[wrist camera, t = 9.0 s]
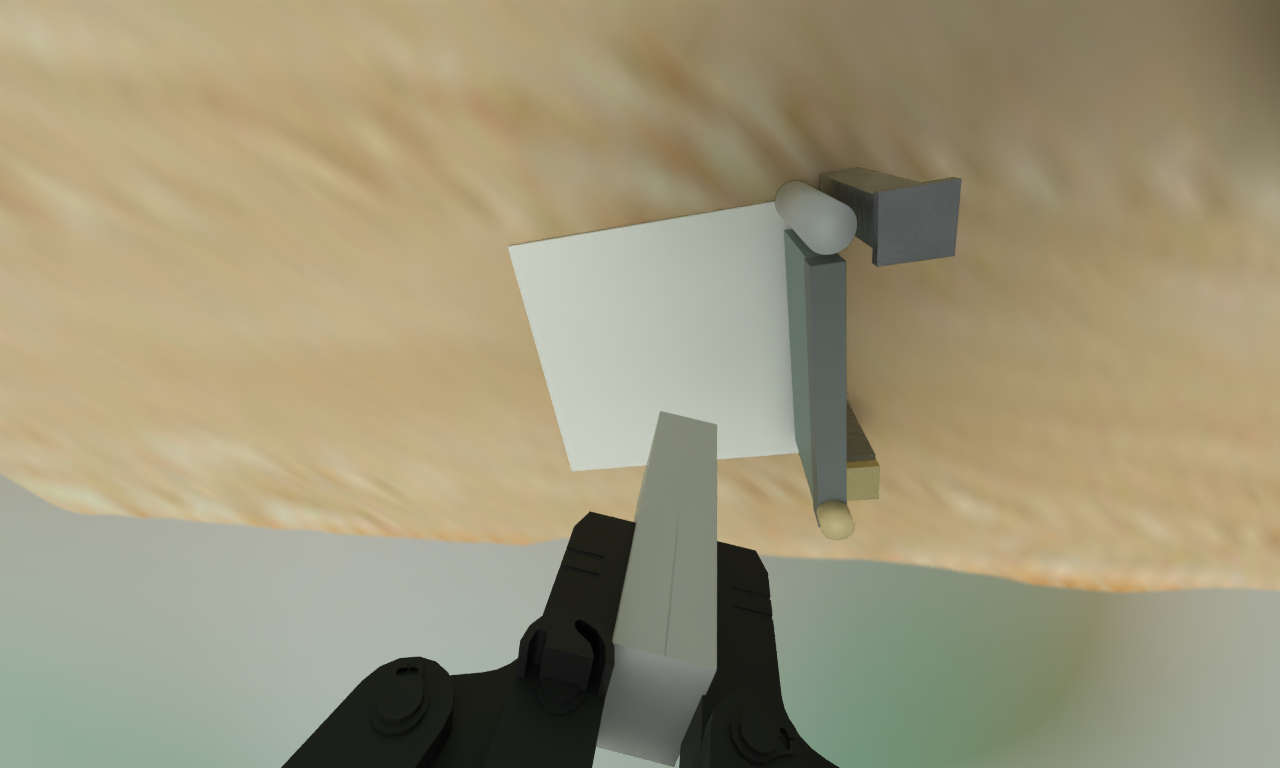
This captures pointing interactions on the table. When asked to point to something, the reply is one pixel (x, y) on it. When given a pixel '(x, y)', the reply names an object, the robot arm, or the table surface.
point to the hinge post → (899, 213)
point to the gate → (819, 344)
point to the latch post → (860, 462)
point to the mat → (664, 333)
